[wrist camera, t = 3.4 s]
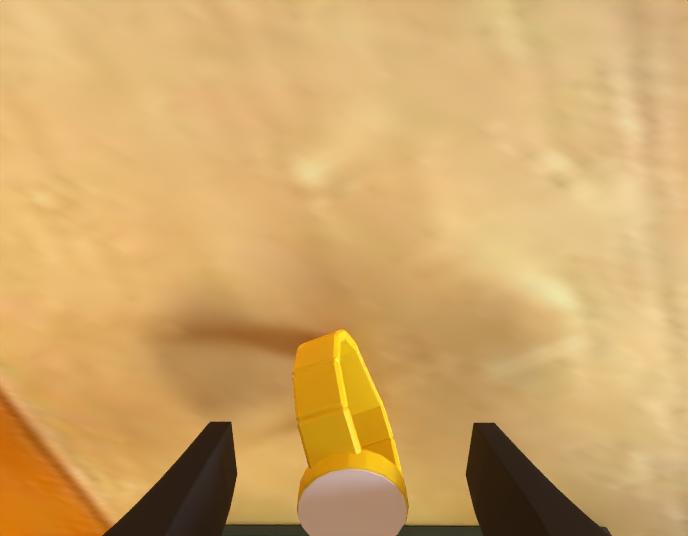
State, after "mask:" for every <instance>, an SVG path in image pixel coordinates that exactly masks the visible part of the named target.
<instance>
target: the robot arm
mask: <svg viewBox="0 0 688 536" xmlns="http://www.w3.org/2000/svg"><path fill="white" fill-rule="evenodd" d="M236 477H237V468H236V459H235V450H234V442H233V433H232V424H231V422H210V423H209V424H208V425H207V426H206V427H205V428H204V429H203V431H202V432H201V433H200V434H199V435H198V437H197V438H196V439H195V440H194V441H193V443H192V444H191V445H190V446H189V447H188V448H187V450H186V451H185V452H184V453H183V454H182V455H181V457H180V458H179V459H178V460H177V461H176V462H175V463H174V464H173V466H172V467H171V468H170V469H169V470H168V471H167V472H166V473H165V474H164V476H163V477H162V478H161V479H160V480H159V481H158V482H157V483H156V484H155V485H154V486H153V487H152V488H151V489H150V490H149V491H148V492H147V493H146V494H145V495H144V497H143V498H142V499H141V500H140V501H139V502H138V503H137V504H136V505H135V506H134V507H133V508H132V509H131V510H130V511H129V512H128V513H126V514H125V515H124V516H123V517H122V518H121V519H120V520H119V521H118V522H117V523H116V524H115V525H114V526H113V527H112V528H110V529H109V530H108V531H107V532H106V533H105V534H104V535H103V536H221V535H222V532H223V529H224V526H225V523H226V520H227V517H228V514H229V510H230V506H231V501H232V497H233V492H234V487H235V482H236ZM466 478H467V482H468V487H469V491H470V495H471V499H472V503H473V507H474V511H475V514H476V517H477V519H478V522H479V525H480V528H481V531H482V533H483V536H610V535H609V534H608V533H607V532H606V531H604V530H603V529H602V528H601V527H599V526H598V525H597V524H596V523H595V522H594V521H592V520H591V519H590V518H589V517H588V516H587V515H585V514H584V513H583V512H582V511H581V510H580V509H579V508H578V507H577V506H576V505H574V504H573V503H572V502H571V501H570V500H569V499H568V498H567V497H566V496H565V495H564V494H563V493H561V492H560V491H559V490H558V489H557V488H556V487H555V486H554V485H553V484H552V483H551V482H550V481H549V480H548V479H547V478H546V477H545V476H544V475H543V474H542V473H541V472H540V471H539V470H538V469H537V468H536V467H535V466H534V465H533V464H532V462H531V461H530V460H529V459H528V458H527V457H526V456H525V455H524V454H523V453H522V452H521V451H520V450H519V449H518V448H517V447H516V446H515V444H514V443H513V442H512V441H511V440H510V439H509V438H508V437H507V436H506V435H505V434H504V433H503V432H502V430H501V429H500V428H499V427H498V426H497V425H496V424H495V423H474V424H473V431H472V437H471V444H470V450H469V457H468V463H467V470H466Z"/></svg>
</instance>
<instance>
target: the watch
mask: <svg viewBox="0 0 688 536" xmlns="http://www.w3.org/2000/svg"><path fill="white" fill-rule="evenodd" d="M293 375H294V376H293V378H292V379H293V389H294V399H295V410H296V419H297V420H298V421H299V424H298V429H299V433H300V436H301V440H302V444H303V447H304V451H305V455H306V458H307V462H308V466H309V467H308V468H307V469H306V471H305V473H304V475H303V477H302V479H301V482H300V488H299V495H298V505H297V512H298V517H299V519H300V522H301V525H302V527H303V529H304V530H305V531H306V532H307V533H308V534H309V535H310V536H396V535H397V534H398V533H399V531H400V530H401V528H402V526H403V525H404V523H405V522H406V519H407V513H408V507H409V505H408V499H407V492H406V487H405V483H404V479H403V476H402V471H401V466H400V462H399V458H398V453H397V449H396V444H395V441H394V439H393V433H392V430H391V427H390V424H389V421H388V417H387V414H386V411H385V408H384V405H383V403H382V402H383V401H382V398H381V399H380V396H379V394H378V392H377V390H376V387H375V385H374V383H373V381H372V378H371V376H370V374H369V372H368V369H367V367H366V365H365V363H364V360H363V358H362V356H361V354H360V351H359V349H358V347H357V344H356V342H355V341H354V340H353V339H352V338H351V336H350V335H349V334H348V333H347V332H346V331H344V330H342V329H341V330H338V331H335V332H333V333H330V334H327V335H325V336H322V337H319V338H316V339H314V340H311V341H308V342H306V343H303V344H301V345H300V346H299V347H298V349H297V353H296V358H295V363H294V368H293Z"/></svg>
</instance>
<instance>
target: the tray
mask: <svg viewBox="0 0 688 536" xmlns="http://www.w3.org/2000/svg"><path fill="white" fill-rule="evenodd" d="M601 528H602V529H603V530H604V531H606V532H607V533H608V534H609V535H610V536H612V535H611V534H610V532H609V531H608V529H607V528H606V527H601ZM221 536H310V535H309V534H308V533H307V532H306V531H305V530H304V529H303V527H302V526H247V525H225V526H224V529H223V532H222V535H221ZM396 536H483V533H482V531H481V528H480V527H438V526H402V528H401V530H400V531H399V533H398V534H397V535H396Z"/></svg>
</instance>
